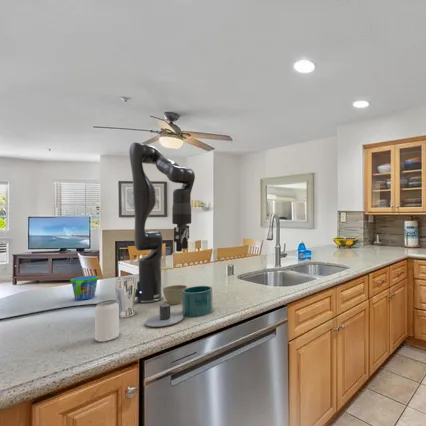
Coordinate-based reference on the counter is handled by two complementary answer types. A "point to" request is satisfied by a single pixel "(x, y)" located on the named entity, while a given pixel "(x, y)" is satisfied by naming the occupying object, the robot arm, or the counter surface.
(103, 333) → the can
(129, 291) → the beer glass
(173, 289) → the flower pot
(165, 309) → the lid
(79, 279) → the blue green tapered container
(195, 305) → the canister
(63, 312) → the counter surface
